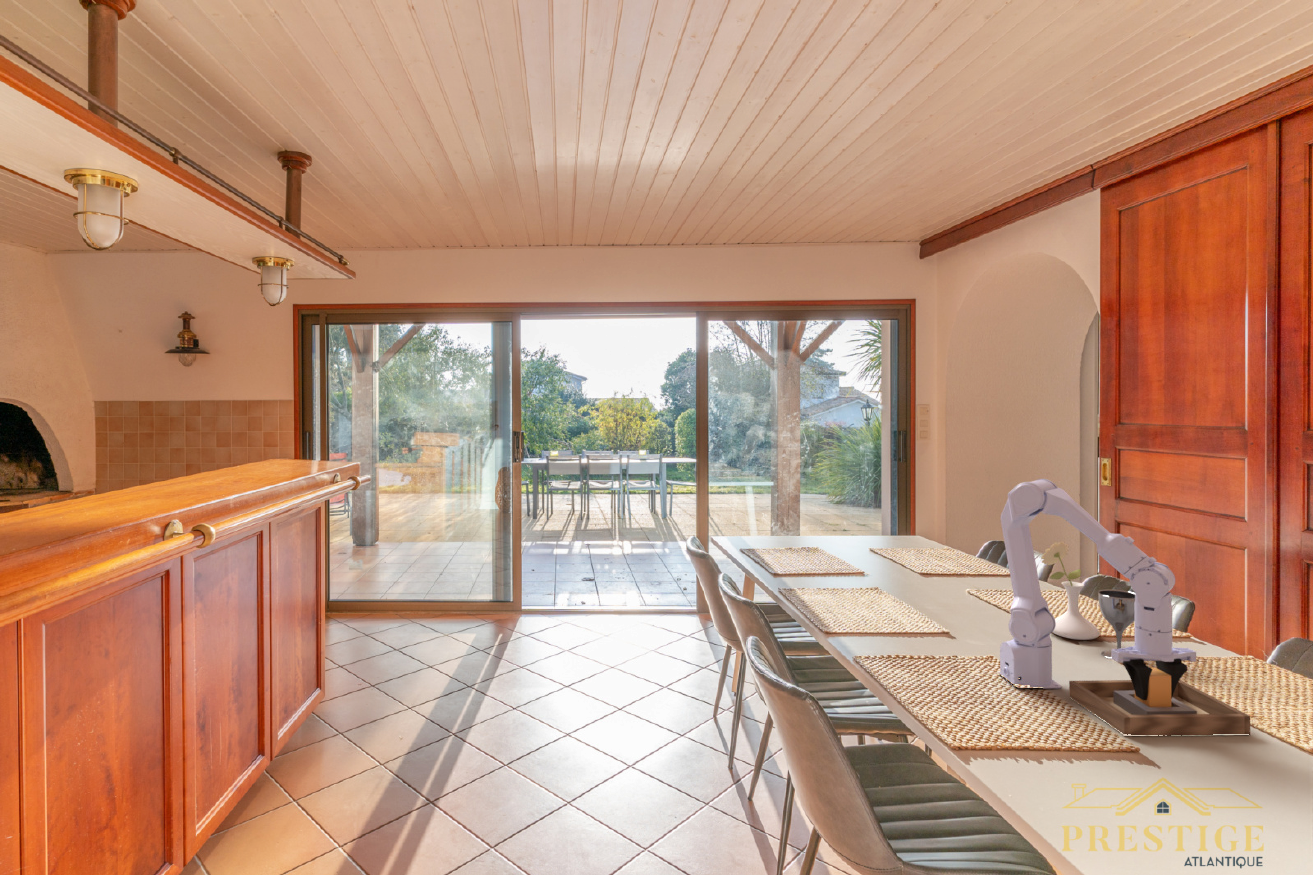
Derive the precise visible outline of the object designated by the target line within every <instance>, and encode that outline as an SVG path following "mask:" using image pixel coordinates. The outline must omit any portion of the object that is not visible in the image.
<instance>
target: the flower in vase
mask: <svg viewBox="0 0 1313 875" xmlns="http://www.w3.org/2000/svg"><path fill="white" fill-rule="evenodd" d="M1044 550H1045V551H1044V553H1043V554H1042V555H1041V558H1040V559H1041V560H1042V561H1041V563H1042V564H1044V565H1046V566H1053V565H1054V564H1057V563H1058V562H1059V563H1060V564H1061V567H1062V570H1063V571H1056V572H1054V573H1052V574H1051V575H1050V577H1049V579H1052V580H1060V579H1062V578H1063V577H1064V576H1066V578H1067V580H1068V581H1062V582H1061V585H1062V586H1063V587H1064V589H1065V591H1066V595H1067V610H1066V611H1065V612H1064V613H1062V614H1061V615H1059V616H1057V617H1054V618H1055V622H1056V626H1055V629H1054V631H1053V632H1052V634H1055V635H1057V636H1060V637H1062V638H1066V639H1071V640H1081V641H1082V640H1083V641H1087V640H1094V639H1096V638H1098V637H1099V636H1100V635H1101V633H1100V630H1099V628H1097V626H1095V624H1093V623H1092V622H1091V621H1090V620H1089V619H1087V618H1086V617H1085V616H1083V615H1082V614H1081V612H1080V610H1079V598H1080V597H1079V596H1080V593H1081V591H1082V589H1083V588H1084V587H1085V584H1084V583H1081V582H1077V581H1071V580H1076V579H1077V580H1078V579H1080V577H1081V573H1082V572H1081V568H1079V569H1076V570H1073V571H1071V572H1069V573H1068V574H1067V572H1066V569H1065V567H1064V563H1063V561H1062V560H1063V559H1064V558H1065V557H1066V556H1067V555H1068V551H1069V544H1068V543H1065V542H1064V541H1059V542H1058V541H1055V542H1054V543H1053V544H1051V545H1050V547H1049V548H1046V549H1044Z"/></svg>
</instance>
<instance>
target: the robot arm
mask: <svg viewBox="0 0 1313 875" xmlns="http://www.w3.org/2000/svg"><path fill="white" fill-rule="evenodd" d="M1040 513H1041V514H1044V515H1049V516H1055V517H1056V516H1057V517H1060V518H1062V519H1064V520H1065V521H1066V522H1068V523H1069V524H1070V525H1071V526H1073V527H1074V528H1075V529H1076V530H1078V531H1079V532H1080V533H1082V534H1083V535H1084V536H1085V537H1087V538H1088V539H1089V540H1090V541H1092V542H1093V543H1095V545H1096V552H1097V554H1098V555H1099V556H1100V557H1101V558H1102V559H1103V560H1104V561H1106V562H1107V563H1108V564H1109V565H1110V566H1112V568H1114V569H1115V570H1116V571H1117V572H1119V573H1120V574H1121V575H1122V576H1123V577H1124V578H1125V579H1128V580H1129V585H1130V588H1131V589H1132V591H1133V593H1135V603H1134V610H1135V621H1134V645H1132V646H1131V645H1130V646H1127V647H1121V648H1120V649H1117V648H1111V649H1110V650H1111V659H1110V660H1113V661H1114V662H1116V663H1120V664H1121V663H1122V665H1123V667H1124V668H1125V670H1126V672H1127V674H1128V675H1129V678H1130V680H1131V681H1132V684H1133V687H1134V690H1135V694H1136V696H1137V697H1139V698H1140V699H1142V700H1147V697H1148V682H1149V678H1150V674H1151V672H1152V669H1151V668H1152V667H1150V666H1148V665H1147V663H1146V662H1155V665H1156V668H1157V669H1159V670H1161V671H1163V672H1165V673H1167V674H1169V675H1171V699H1172V697H1173V693H1174V691H1175V688H1176V686H1177V683H1178V682H1179V680H1181V678H1182V677H1183V676H1184V675H1185V673H1186V672H1187V671H1188V665H1187V664H1185V663H1183V662H1182V661H1188V662H1191V663H1193V662H1195V663H1196V662H1197V651H1195V650H1193V649H1191V648H1188V647H1175V646H1174V647H1173V605H1172V592H1170V591H1171V590H1172V589H1173V588H1174V587H1175V585H1176V576H1175V574H1174V572H1173V570H1171V569H1170V568H1169V566H1168V565H1167V564H1164V563H1162V562H1158V560H1157V559H1156V558H1155V557H1154V556H1151V557H1150V556H1149V555H1147V554H1146V553H1145V552H1144V551H1143V550H1141V549H1140V548H1139V547H1138V546H1136V545H1135V544H1134V542H1135V539H1133V538H1132V537H1131V536H1126V537H1125V535H1123V534H1122V533H1113V532H1112V533H1111V532H1110V531H1109V530H1108V529H1106V528H1105V527H1104V526H1103V525H1102V524H1101V523H1100V522H1098V521H1097V520H1096V519H1095V517H1093V516H1092V515H1091V514H1090V513H1089V512H1088V511H1087V510H1086V509H1085V508H1083V507H1082V506H1081V505H1080V504H1079V503H1077V501H1075V500H1074V499H1073V498H1072V497H1071V495H1069V494H1068V493H1067V491H1065V490H1064V489H1063V488H1061V487H1058V485H1057V484H1056V483H1054V481H1052V480H1049V479H1047V478H1039V479H1035V480H1033V481H1024V482H1020V483H1018V484H1017V485H1015V486H1014V487H1013V489H1011V490H1010V491H1009V492H1008V493H1007V500H1006V502H1005V505H1004V507H1003V510H1002V512H1001V514H1000V523H1001V529H1002V534H1003V535H1002V536H1003V542H1004V547H1005V553H1006V559H1007V564H1008V571H1009V577H1010V583H1011V587H1012V593H1013V600H1012V602H1011V606H1010V608H1009V612H1010V619H1009V622H1008V631H1009V632H1010V635H1011V636H1012V637H1013V638H1012V639H1010V640H1006V641H1003V642H1001V644H1000V647H999V663H1000V664H999V665H1000V667H999V668H1000V670H999V672H998V674H999V673H1000V674H1001V675H1003V676H1004V677H1005V678H1007V679H1008V680H1009V681H1010V682H1012V683H1013V684H1021V685H1030V687H1044V688H1043V689H1062V685H1061V684H1059V683H1058V682H1056V681H1055V680H1054V679H1053V650H1052V649H1053V645H1052V642H1053V641H1052V639H1051V635H1050V634H1053V631H1054V629H1055V626H1056V622H1055V618H1056V617H1054V615H1053V613H1052V612H1051V610H1050V609H1049V605H1048V602H1047V600H1046V599H1045V598H1044V597H1043V596H1042V590H1041V585H1040V580H1039V574H1038V570H1037V564H1036V558H1035V552H1034V545H1033V541H1032V536H1031V530H1030V529H1031V528H1030V523H1031V522H1032V521H1033V520H1034V519H1035V518H1036V517H1037V516H1038V515H1039V514H1040ZM1018 678H1020V679H1018Z"/></svg>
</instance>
